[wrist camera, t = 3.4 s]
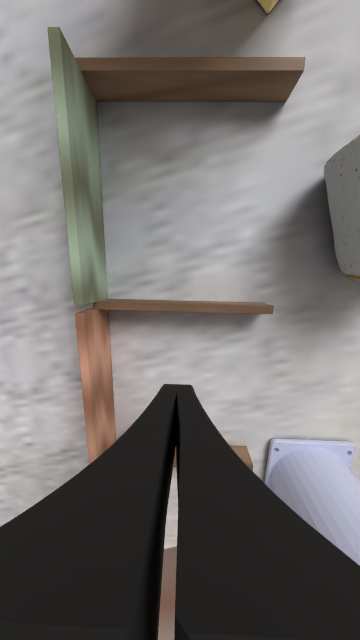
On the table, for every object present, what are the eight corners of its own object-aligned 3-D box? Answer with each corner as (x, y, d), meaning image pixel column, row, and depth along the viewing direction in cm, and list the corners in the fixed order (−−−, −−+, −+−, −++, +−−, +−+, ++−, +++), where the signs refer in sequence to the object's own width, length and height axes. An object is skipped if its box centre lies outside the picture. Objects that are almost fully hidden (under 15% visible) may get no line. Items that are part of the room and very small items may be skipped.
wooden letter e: (245, 451, 19) (261, 495, 15) (110, 445, 20) (91, 487, 16) (287, 90, 13) (331, 9, 9) (87, 90, 13) (46, 11, 9)
